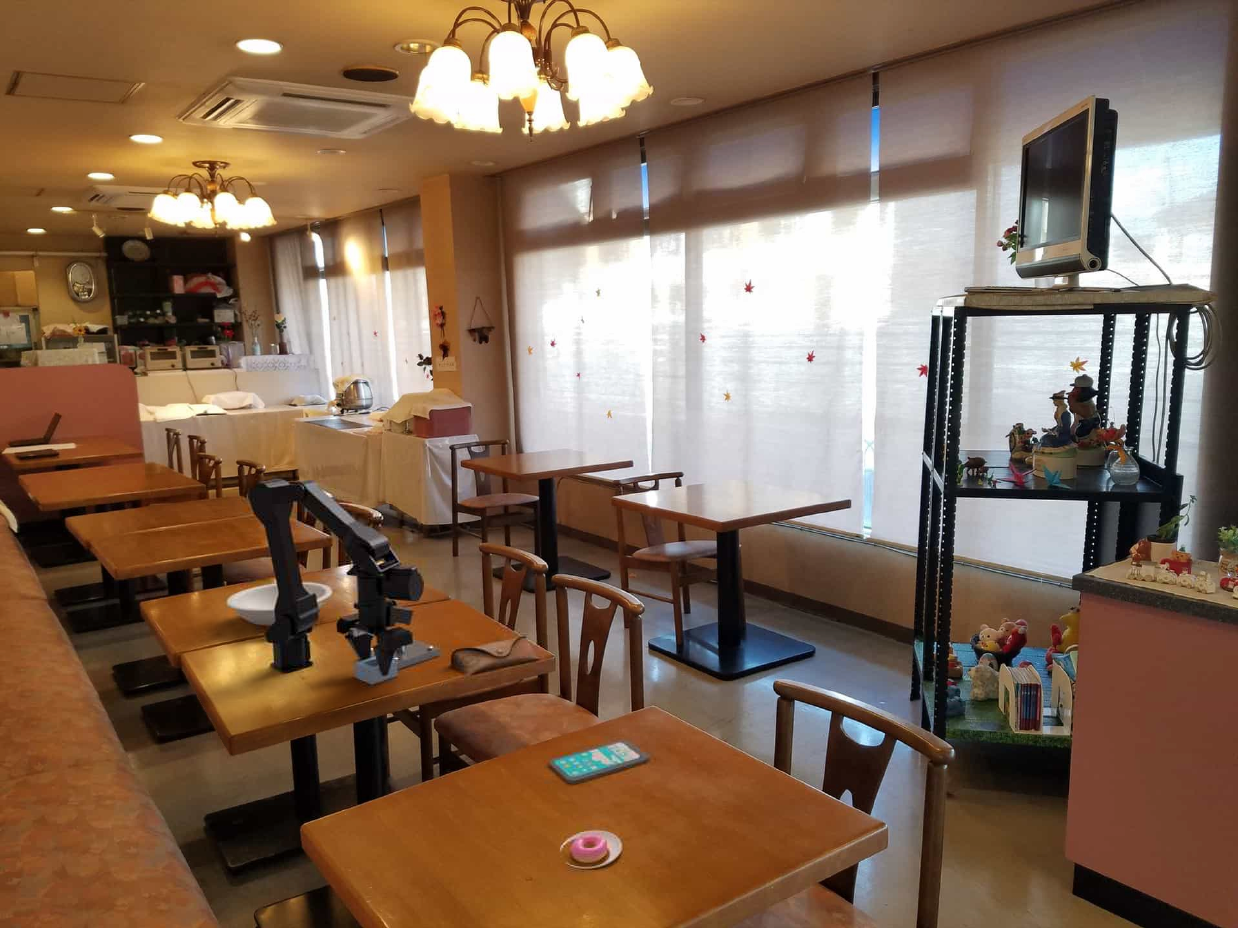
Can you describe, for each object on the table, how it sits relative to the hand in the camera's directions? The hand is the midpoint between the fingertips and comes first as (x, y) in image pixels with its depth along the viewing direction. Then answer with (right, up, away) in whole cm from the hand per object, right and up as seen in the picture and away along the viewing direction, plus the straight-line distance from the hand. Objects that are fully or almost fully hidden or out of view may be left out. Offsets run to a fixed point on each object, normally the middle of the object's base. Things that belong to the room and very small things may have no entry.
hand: (376, 671), depth 178 cm
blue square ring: (0, -1, 0) cm, 1 cm away
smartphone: (+46, -6, -37) cm, 59 cm away
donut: (+47, -10, -60) cm, 77 cm away
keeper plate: (+2, +1, +11) cm, 12 cm away
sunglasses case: (+24, -1, +8) cm, 25 cm away
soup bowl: (-33, +3, +36) cm, 49 cm away
